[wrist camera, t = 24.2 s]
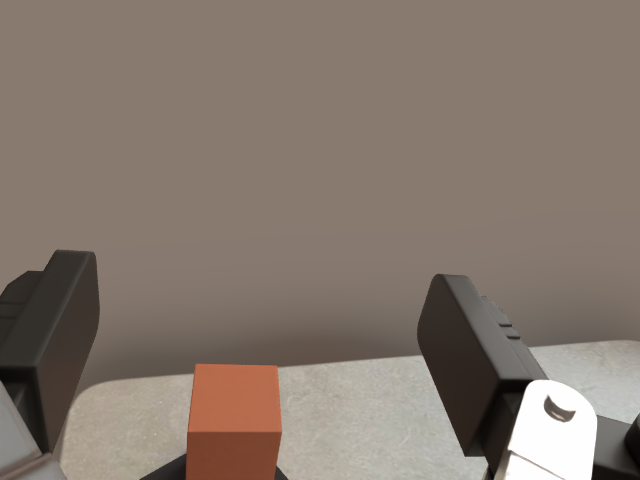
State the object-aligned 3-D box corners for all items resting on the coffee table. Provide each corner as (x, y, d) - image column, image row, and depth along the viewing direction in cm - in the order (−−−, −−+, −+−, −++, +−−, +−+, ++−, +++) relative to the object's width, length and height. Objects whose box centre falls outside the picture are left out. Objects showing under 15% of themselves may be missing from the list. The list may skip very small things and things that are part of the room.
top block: (265, 528, 32) (282, 431, 28) (183, 530, 31) (187, 431, 27) (263, 458, 37) (277, 365, 32) (190, 459, 36) (195, 363, 31)
